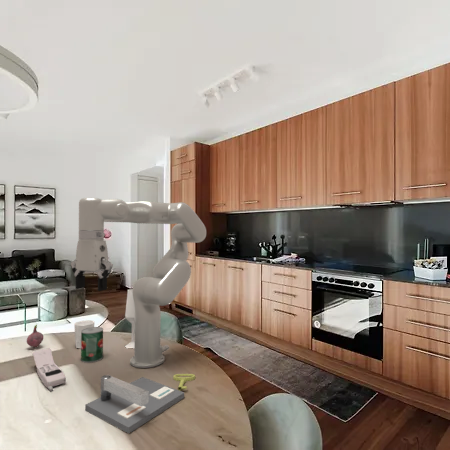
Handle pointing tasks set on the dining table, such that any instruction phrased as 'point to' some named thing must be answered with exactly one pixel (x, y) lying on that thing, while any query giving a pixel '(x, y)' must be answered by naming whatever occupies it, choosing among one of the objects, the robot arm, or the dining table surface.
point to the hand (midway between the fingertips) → (91, 289)
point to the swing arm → (123, 390)
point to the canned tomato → (91, 344)
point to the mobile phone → (48, 369)
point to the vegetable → (35, 338)
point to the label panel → (135, 405)
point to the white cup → (79, 327)
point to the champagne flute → (130, 316)
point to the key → (183, 380)
